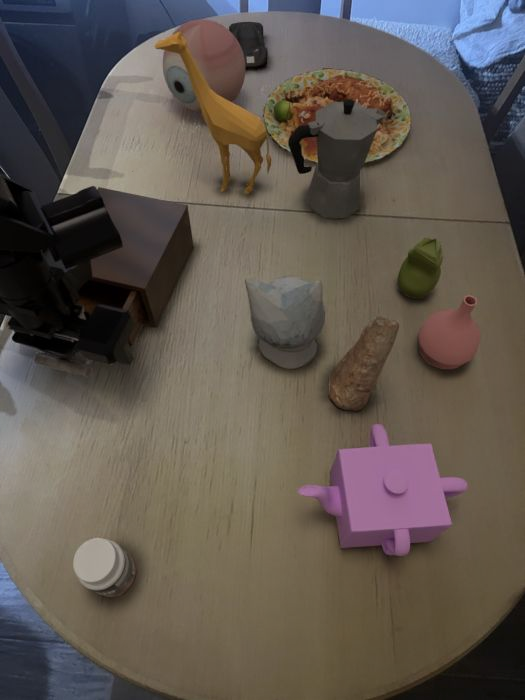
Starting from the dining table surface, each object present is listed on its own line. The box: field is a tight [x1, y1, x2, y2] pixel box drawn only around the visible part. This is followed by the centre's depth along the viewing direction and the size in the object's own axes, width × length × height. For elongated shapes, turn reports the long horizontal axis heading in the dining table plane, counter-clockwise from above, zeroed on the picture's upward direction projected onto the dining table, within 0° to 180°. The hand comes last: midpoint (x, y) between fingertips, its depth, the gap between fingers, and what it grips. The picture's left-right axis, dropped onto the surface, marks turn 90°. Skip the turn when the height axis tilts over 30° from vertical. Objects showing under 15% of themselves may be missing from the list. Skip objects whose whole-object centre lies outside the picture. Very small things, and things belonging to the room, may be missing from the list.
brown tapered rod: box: [327, 315, 400, 412], centre depth 60 cm, size 6×18×6 cm
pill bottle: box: [72, 537, 136, 598], centre depth 52 cm, size 5×5×8 cm
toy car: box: [228, 21, 269, 72], centre depth 109 cm, size 7×15×4 cm, turn 5°
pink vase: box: [417, 295, 482, 370], centre depth 66 cm, size 8×8×12 cm
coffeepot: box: [288, 99, 387, 220], centre depth 79 cm, size 15×9×18 cm, turn 110°
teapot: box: [298, 423, 469, 557], centre depth 56 cm, size 18×14×10 cm
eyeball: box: [162, 18, 246, 114], centre depth 94 cm, size 15×15×15 cm
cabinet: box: [91, 186, 195, 328], centre depth 74 cm, size 16×14×9 cm
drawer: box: [33, 280, 148, 378], centre depth 69 cm, size 20×13×7 cm, turn 164°
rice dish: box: [262, 67, 412, 165], centre depth 96 cm, size 28×28×5 cm
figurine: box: [244, 275, 326, 370], centre depth 65 cm, size 10×9×15 cm
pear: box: [397, 237, 444, 299], centre depth 73 cm, size 6×5×10 cm
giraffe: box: [154, 29, 272, 195], centre depth 78 cm, size 16×4×25 cm, turn 79°
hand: (70, 357), depth 65 cm, fingers closed
